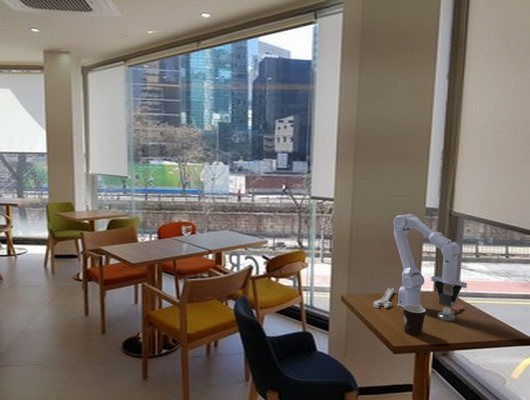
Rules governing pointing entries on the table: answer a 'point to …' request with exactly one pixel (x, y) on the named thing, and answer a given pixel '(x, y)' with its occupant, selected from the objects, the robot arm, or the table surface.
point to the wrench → (384, 299)
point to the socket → (446, 298)
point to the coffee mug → (413, 319)
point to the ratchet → (449, 313)
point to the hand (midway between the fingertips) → (447, 300)
